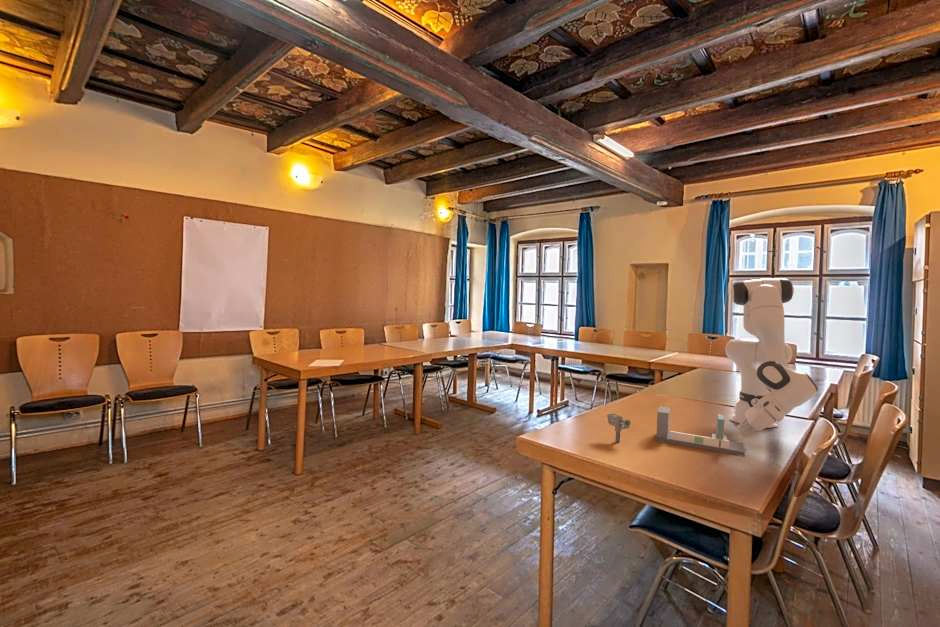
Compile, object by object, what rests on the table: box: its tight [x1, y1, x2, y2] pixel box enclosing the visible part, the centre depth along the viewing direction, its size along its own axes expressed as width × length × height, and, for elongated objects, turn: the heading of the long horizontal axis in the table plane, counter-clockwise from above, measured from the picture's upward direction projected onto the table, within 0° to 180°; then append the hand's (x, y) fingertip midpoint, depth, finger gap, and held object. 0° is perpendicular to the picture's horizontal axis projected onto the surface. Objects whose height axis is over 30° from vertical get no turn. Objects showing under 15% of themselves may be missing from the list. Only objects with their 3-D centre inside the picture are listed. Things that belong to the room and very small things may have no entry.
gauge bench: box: [655, 406, 746, 457], centre depth 171 cm, size 12×30×12 cm, turn 62°
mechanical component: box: [606, 413, 631, 444], centre depth 170 cm, size 3×10×10 cm, turn 27°
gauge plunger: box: [711, 413, 728, 440], centre depth 167 cm, size 10×5×10 cm, turn 152°
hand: (739, 428), depth 164 cm, fingers closed
